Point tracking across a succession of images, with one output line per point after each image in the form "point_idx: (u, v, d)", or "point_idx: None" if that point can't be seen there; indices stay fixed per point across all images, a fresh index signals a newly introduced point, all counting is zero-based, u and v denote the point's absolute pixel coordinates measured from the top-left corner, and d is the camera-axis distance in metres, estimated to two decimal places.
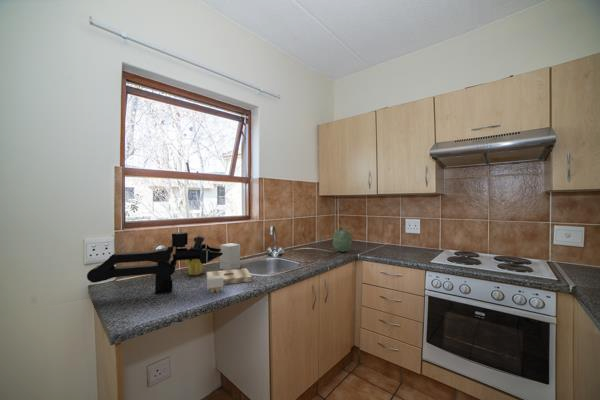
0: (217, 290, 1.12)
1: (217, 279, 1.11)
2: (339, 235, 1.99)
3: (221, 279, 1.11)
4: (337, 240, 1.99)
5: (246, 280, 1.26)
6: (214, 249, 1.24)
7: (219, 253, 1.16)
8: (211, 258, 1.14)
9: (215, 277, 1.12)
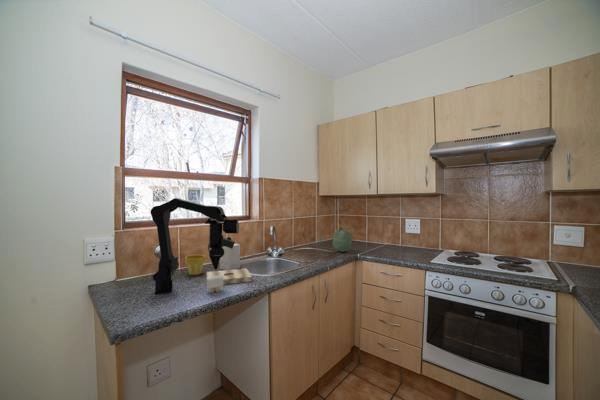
0: (217, 290, 1.12)
1: (217, 279, 1.11)
2: (339, 235, 1.99)
3: (221, 279, 1.11)
4: (337, 240, 1.99)
5: (246, 280, 1.26)
6: None
7: (216, 266, 1.08)
8: (212, 259, 1.06)
9: (215, 277, 1.12)
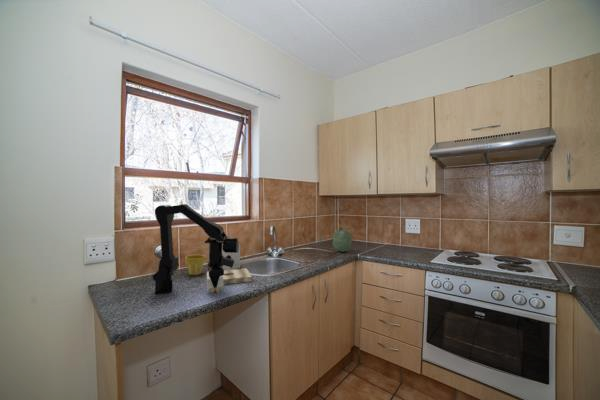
0: (217, 290, 1.12)
1: None
2: (339, 235, 1.99)
3: (221, 279, 1.11)
4: (337, 240, 1.99)
5: (246, 280, 1.26)
6: None
7: (216, 284, 1.10)
8: (212, 278, 1.08)
9: None
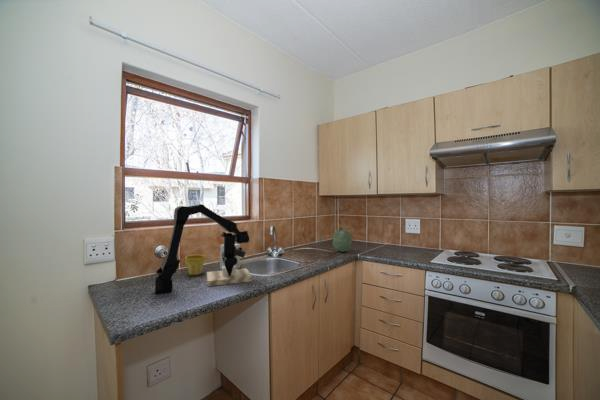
0: None
1: None
2: (339, 235, 1.99)
3: (234, 268, 1.29)
4: (337, 240, 1.99)
5: (246, 280, 1.26)
6: None
7: (230, 273, 1.26)
8: (227, 266, 1.25)
9: None
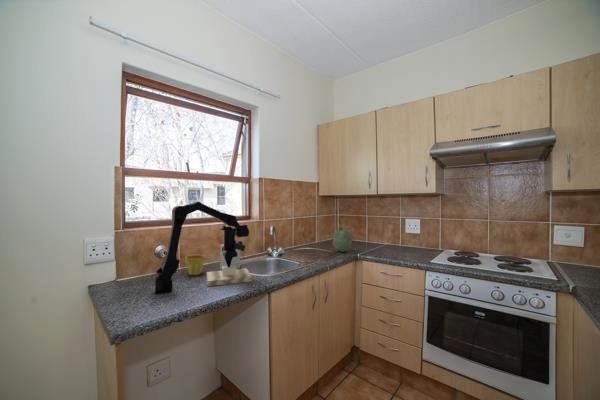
0: None
1: (231, 268, 1.29)
2: (339, 235, 1.99)
3: (234, 268, 1.29)
4: (337, 240, 1.99)
5: (246, 280, 1.26)
6: None
7: (229, 264, 1.30)
8: (226, 258, 1.28)
9: None
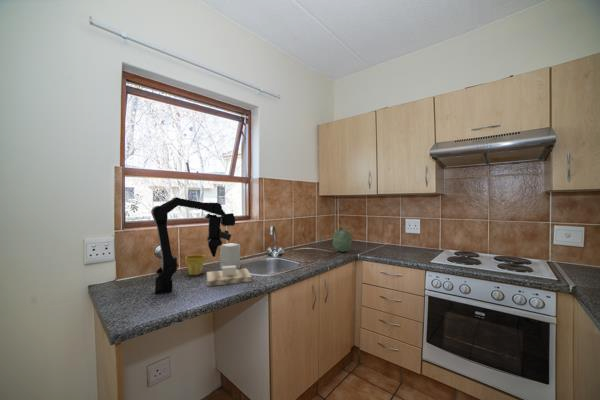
0: None
1: (231, 268, 1.29)
2: (339, 235, 1.99)
3: (234, 268, 1.29)
4: (337, 240, 1.99)
5: (246, 280, 1.26)
6: None
7: (214, 254, 1.25)
8: (211, 247, 1.23)
9: (229, 266, 1.30)
